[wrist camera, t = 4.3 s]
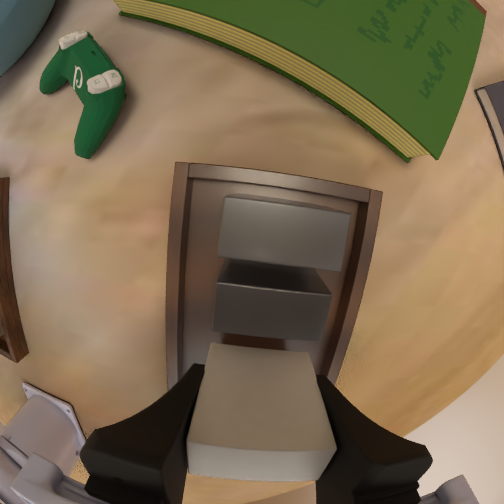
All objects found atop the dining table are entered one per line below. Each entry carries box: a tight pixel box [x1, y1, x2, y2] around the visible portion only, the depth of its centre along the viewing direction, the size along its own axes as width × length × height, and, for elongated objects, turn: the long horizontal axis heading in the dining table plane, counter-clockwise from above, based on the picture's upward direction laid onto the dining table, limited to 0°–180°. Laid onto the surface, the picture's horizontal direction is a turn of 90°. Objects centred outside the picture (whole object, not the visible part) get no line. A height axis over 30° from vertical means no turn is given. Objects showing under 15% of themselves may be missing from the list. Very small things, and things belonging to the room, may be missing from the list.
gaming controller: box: [40, 30, 127, 159], centre depth 13 cm, size 9×4×6 cm
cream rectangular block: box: [186, 343, 337, 482], centre depth 11 cm, size 2×5×6 cm, turn 83°
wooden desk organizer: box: [166, 162, 383, 391], centre depth 15 cm, size 20×12×7 cm, turn 173°
